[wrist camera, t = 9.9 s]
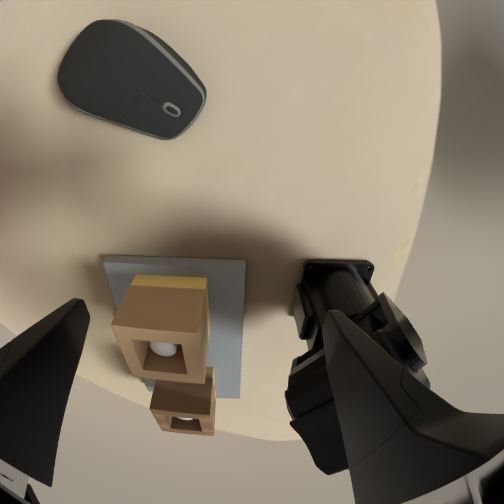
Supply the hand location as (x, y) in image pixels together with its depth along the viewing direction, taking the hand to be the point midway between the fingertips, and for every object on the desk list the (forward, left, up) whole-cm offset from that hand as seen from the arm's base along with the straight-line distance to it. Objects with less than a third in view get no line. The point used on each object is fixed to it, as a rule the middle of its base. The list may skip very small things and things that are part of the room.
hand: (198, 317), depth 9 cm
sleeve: (+4, +21, -11) cm, 24 cm away
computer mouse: (+7, -9, -12) cm, 17 cm away
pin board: (+4, +15, -12) cm, 20 cm away
